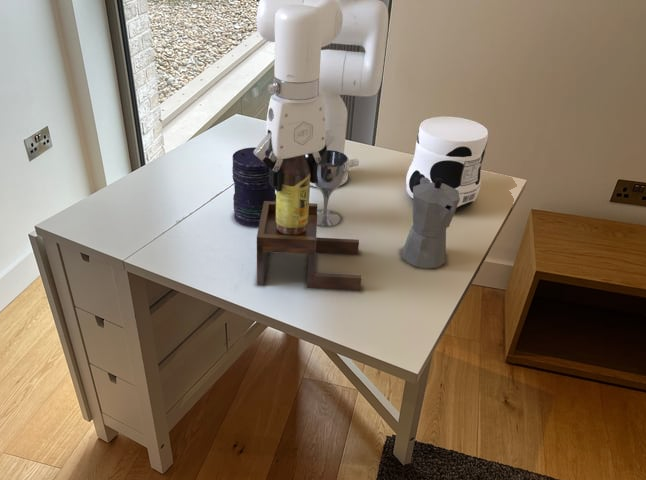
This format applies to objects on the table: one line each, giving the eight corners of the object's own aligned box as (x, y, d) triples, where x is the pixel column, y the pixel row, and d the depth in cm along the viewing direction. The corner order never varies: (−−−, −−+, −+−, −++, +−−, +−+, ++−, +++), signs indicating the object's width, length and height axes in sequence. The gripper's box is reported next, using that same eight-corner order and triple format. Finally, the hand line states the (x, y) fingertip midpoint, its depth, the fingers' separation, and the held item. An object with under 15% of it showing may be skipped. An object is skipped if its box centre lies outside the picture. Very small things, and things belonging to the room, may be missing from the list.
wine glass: (345, 213, 138) (351, 153, 129) (337, 229, 132) (342, 168, 123) (312, 207, 140) (316, 148, 131) (303, 223, 134) (306, 162, 125)
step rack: (357, 251, 124) (362, 205, 118) (359, 290, 113) (365, 242, 107) (263, 246, 126) (263, 200, 119) (257, 285, 115) (256, 237, 108)
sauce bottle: (304, 239, 111) (309, 139, 99) (272, 235, 112) (273, 136, 100) (310, 221, 116) (315, 125, 105) (279, 218, 117) (280, 122, 105)
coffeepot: (458, 271, 119) (478, 192, 108) (415, 277, 117) (431, 197, 106) (426, 233, 131) (440, 157, 120) (386, 237, 129) (397, 161, 118)
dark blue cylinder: (283, 211, 138) (284, 152, 129) (265, 231, 131) (265, 169, 122) (245, 203, 141) (244, 144, 132) (226, 221, 134) (223, 160, 125)
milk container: (409, 178, 152) (421, 110, 142) (478, 189, 148) (495, 120, 137) (397, 209, 139) (409, 136, 129) (472, 222, 135) (491, 148, 124)
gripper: (260, 102, 92) (260, 203, 103) (352, 86, 99) (343, 182, 109) (239, 88, 97) (242, 185, 108) (328, 74, 104) (322, 167, 115)
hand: (293, 183), depth 109 cm, fingers open, 6 cm apart
